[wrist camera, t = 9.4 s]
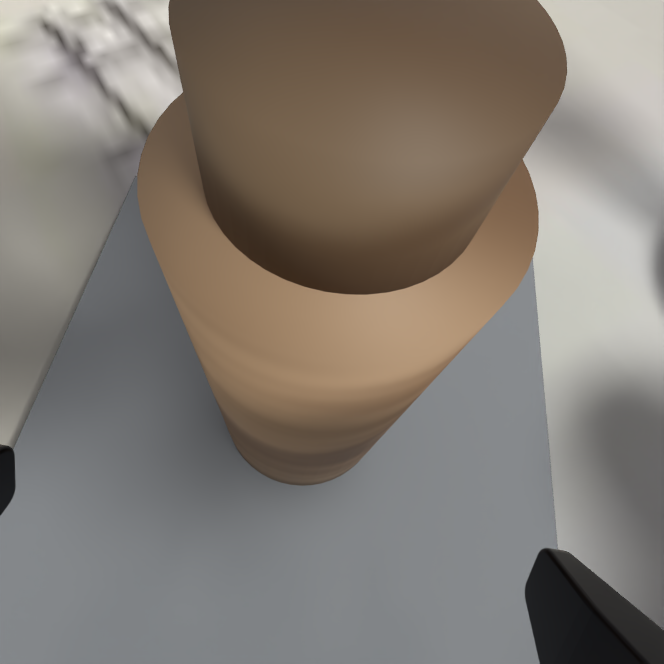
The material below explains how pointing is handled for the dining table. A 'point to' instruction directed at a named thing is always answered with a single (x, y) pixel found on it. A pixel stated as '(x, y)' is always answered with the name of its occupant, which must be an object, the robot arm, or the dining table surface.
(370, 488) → the slate tile
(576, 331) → the dining table surface
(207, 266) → the pepper mill
